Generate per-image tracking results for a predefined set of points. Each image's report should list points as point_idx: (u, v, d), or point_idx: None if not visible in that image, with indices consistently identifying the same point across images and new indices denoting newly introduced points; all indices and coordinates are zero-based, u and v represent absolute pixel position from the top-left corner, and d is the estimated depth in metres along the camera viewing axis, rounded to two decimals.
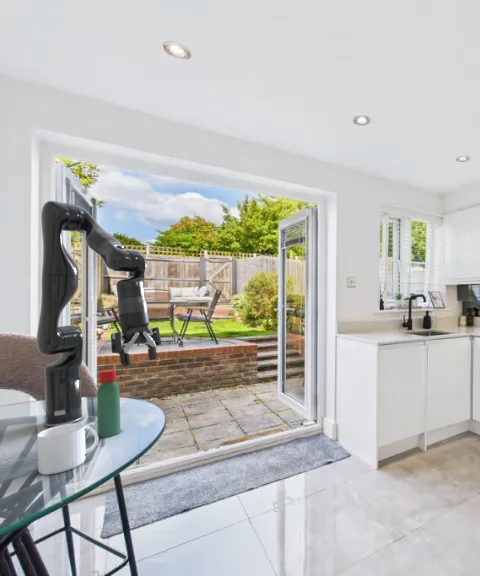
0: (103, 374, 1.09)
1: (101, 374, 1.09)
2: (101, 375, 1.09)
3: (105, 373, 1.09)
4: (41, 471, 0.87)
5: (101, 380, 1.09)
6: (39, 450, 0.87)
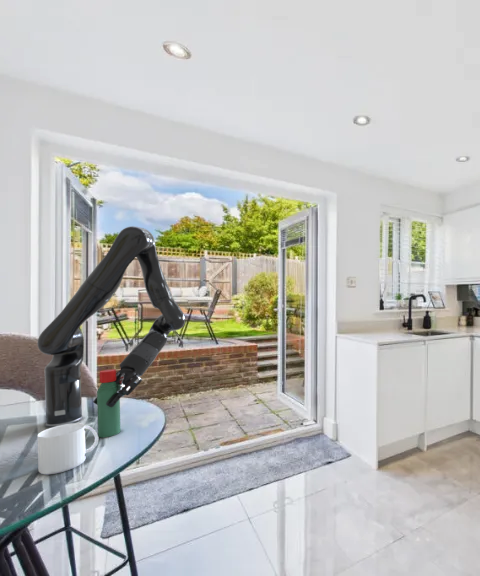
0: (103, 374, 1.09)
1: (101, 374, 1.09)
2: (101, 375, 1.09)
3: (105, 373, 1.09)
4: (41, 471, 0.87)
5: (101, 380, 1.09)
6: (39, 450, 0.87)
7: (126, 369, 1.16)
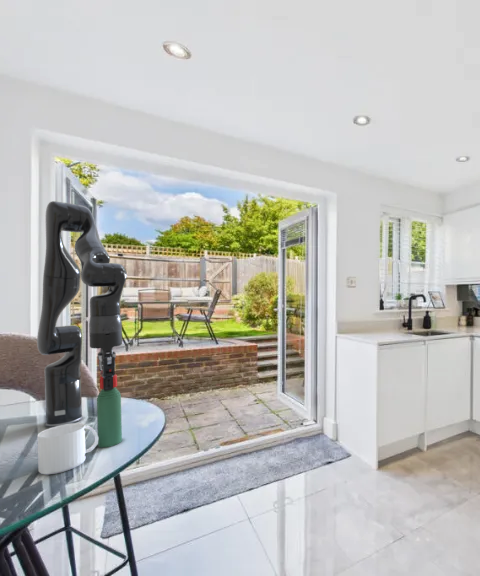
0: None
1: (101, 380, 1.02)
2: (101, 381, 1.02)
3: None
4: (41, 471, 0.87)
5: (101, 386, 1.02)
6: (39, 450, 0.87)
7: None
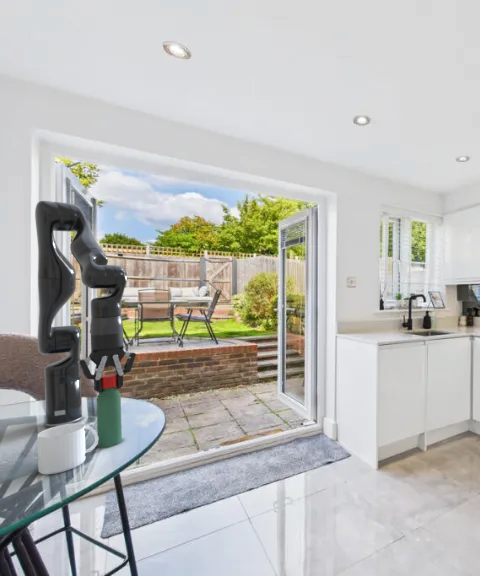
0: (115, 377, 1.04)
1: (114, 378, 1.03)
2: (114, 379, 1.03)
3: (116, 376, 1.05)
4: (41, 471, 0.87)
5: (114, 384, 1.03)
6: (39, 450, 0.87)
7: (108, 349, 1.02)
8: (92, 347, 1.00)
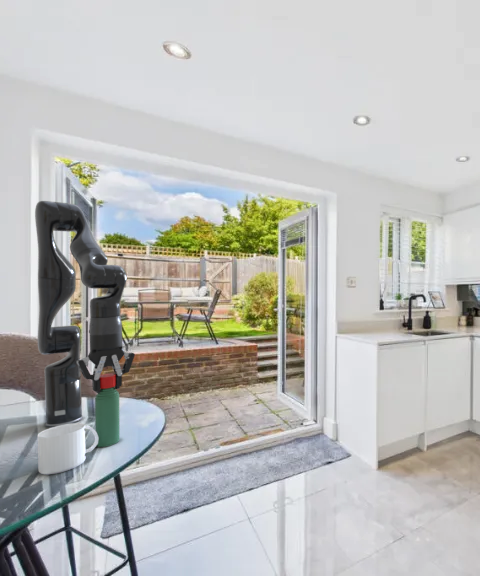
0: None
1: None
2: None
3: None
4: (41, 471, 0.87)
5: None
6: (39, 450, 0.87)
7: (107, 349, 1.02)
8: (91, 347, 1.00)
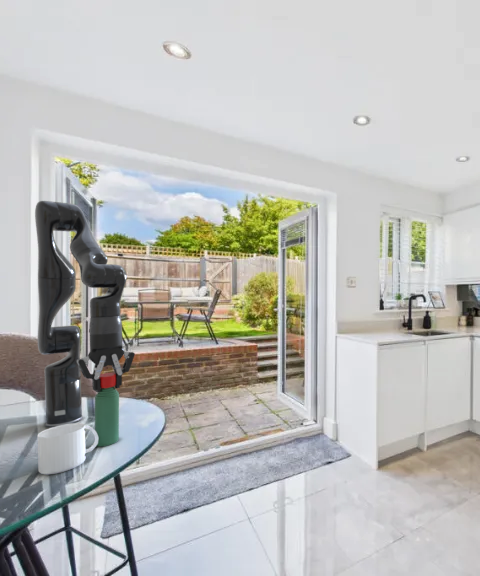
0: None
1: None
2: None
3: None
4: (41, 471, 0.87)
5: None
6: (39, 450, 0.87)
7: (107, 348, 1.02)
8: (91, 346, 1.00)
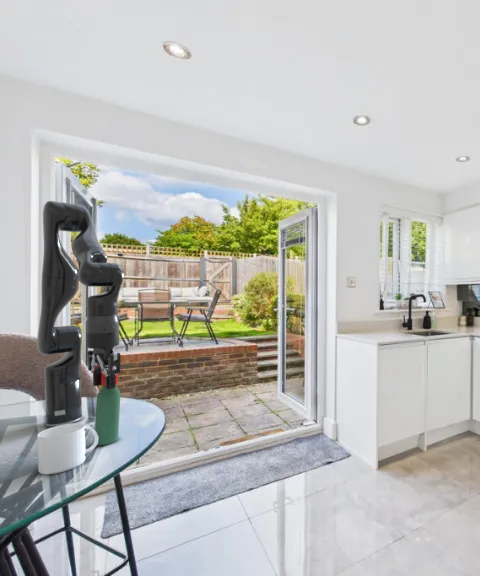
0: (101, 376, 1.04)
1: None
2: None
3: (101, 375, 1.04)
4: (41, 471, 0.87)
5: None
6: (39, 450, 0.87)
7: (97, 348, 1.01)
8: None
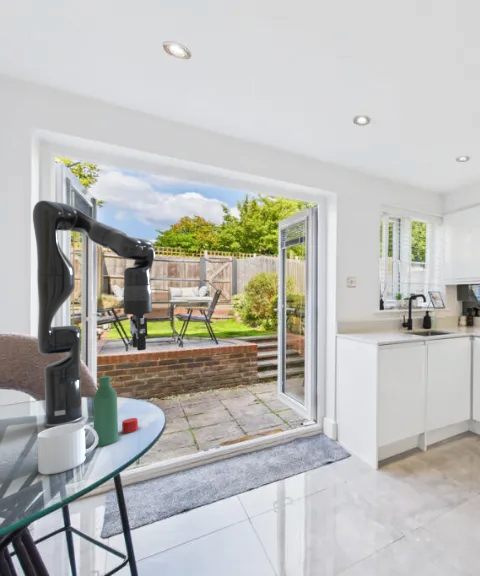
0: (137, 421, 1.14)
1: (136, 422, 1.13)
2: (136, 423, 1.13)
3: None
4: (41, 471, 0.87)
5: (136, 428, 1.13)
6: (39, 450, 0.87)
7: None
8: (142, 311, 1.12)
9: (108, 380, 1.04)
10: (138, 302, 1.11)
